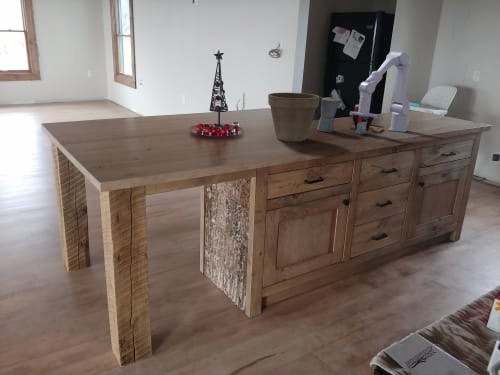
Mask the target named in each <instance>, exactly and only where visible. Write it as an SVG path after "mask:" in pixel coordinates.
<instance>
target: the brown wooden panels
mask: <svg viewBox="0 0 500 375" xmlns="http://www.w3.org/2000/svg"><path fill="white" fill-rule="evenodd" d="M350 130H355V124H354V125H352V126H350ZM368 130H371V133H376V134H379V133H381V132H382V131H384V127H378V126H372V125H370V127H369V129H368ZM355 131H356V130H355Z"/></svg>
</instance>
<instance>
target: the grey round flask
mask: <svg viewBox="0 0 500 375" xmlns="http://www.w3.org/2000/svg"><path fill="white" fill-rule="evenodd" d="M366 127H367V123H365V122H357V129H356V130H355V133H356V134H359V135H366V134H368V133H367V132H368V131H366Z"/></svg>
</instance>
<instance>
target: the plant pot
mask: <svg viewBox="0 0 500 375" xmlns="http://www.w3.org/2000/svg"><path fill="white" fill-rule="evenodd" d="M319 97H320V96H319V95H318V94H312V93H301V92H271V93H269V94H268V96H267V100H268V101H267V104H268V105H269V106H270V112H271V117H272V121H273V128H274V132H275V137H276V139H277V140H278V141H283V142H290V143H291V142H292V143H295V142H296V143H297V142H299V143H300V142H304V141H306V139H307V137H308V134H309V131H310V128H311V126H312V122H313V119H314V116H315V111H316V110H317V108H318V107H319V106H320V101H319Z"/></svg>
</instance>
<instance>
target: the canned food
mask: <svg viewBox="0 0 500 375" xmlns="http://www.w3.org/2000/svg"><path fill="white" fill-rule="evenodd" d="M358 110H359V104H355V106H354V112H358ZM362 116H364V115H362ZM362 116H359V120H358V122H365V123H367V118H368V117H362ZM353 123H354V121H353Z"/></svg>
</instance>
